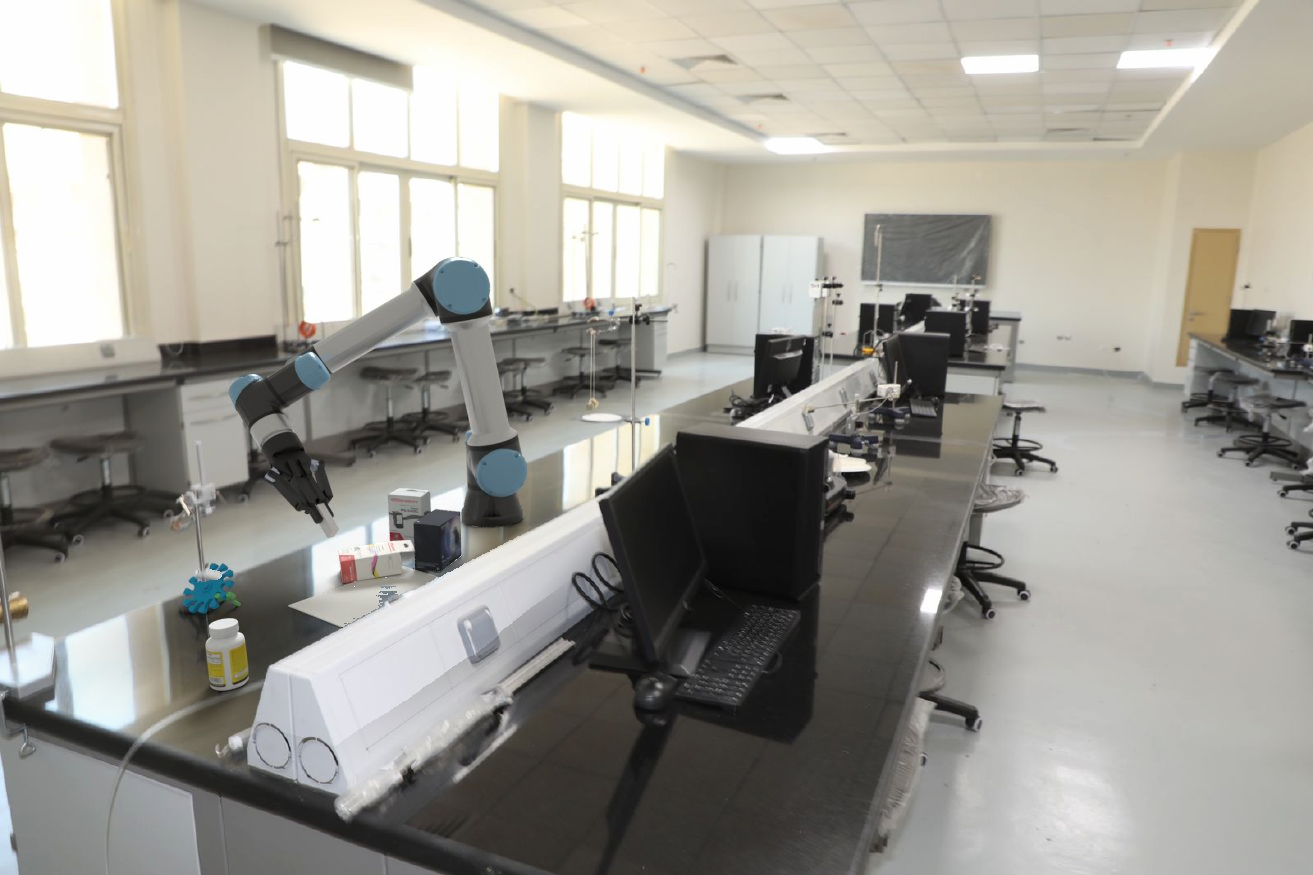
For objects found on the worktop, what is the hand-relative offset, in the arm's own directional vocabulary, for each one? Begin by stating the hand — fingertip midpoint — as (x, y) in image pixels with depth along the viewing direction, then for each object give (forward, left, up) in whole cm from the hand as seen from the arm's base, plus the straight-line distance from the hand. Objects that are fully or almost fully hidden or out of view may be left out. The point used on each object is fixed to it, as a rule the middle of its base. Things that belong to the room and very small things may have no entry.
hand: (333, 533), depth 168 cm
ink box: (-25, -7, -10) cm, 28 cm away
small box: (-19, +9, -10) cm, 23 cm away
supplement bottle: (+35, +23, -10) cm, 43 cm away
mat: (0, +13, -10) cm, 16 cm away
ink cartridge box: (-2, -1, -8) cm, 8 cm away
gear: (+21, -7, -10) cm, 25 cm away
